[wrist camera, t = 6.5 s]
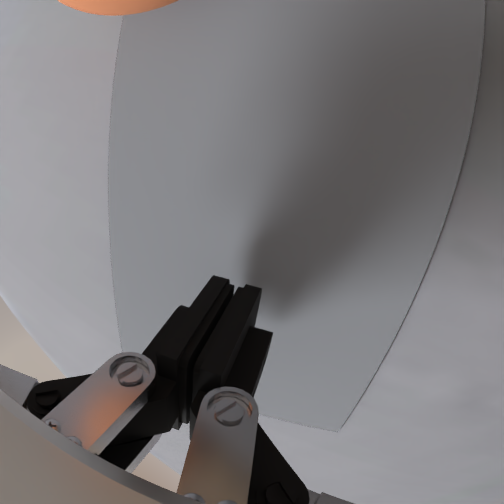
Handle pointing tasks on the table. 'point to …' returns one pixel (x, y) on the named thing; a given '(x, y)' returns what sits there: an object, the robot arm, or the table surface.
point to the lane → (289, 174)
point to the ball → (116, 6)
